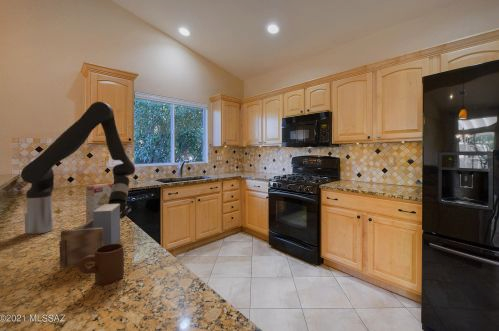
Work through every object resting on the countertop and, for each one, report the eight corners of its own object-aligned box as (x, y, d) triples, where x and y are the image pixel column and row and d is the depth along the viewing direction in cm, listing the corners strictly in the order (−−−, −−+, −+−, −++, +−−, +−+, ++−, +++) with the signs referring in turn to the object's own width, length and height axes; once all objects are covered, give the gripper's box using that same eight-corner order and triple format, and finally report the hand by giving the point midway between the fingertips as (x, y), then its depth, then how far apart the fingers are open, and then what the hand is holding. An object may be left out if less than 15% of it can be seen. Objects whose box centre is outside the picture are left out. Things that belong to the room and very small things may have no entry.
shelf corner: (60, 268, 77) (59, 232, 76) (94, 236, 107) (94, 210, 107) (101, 263, 80) (100, 229, 80) (123, 233, 111) (123, 209, 110)
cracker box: (95, 224, 126) (94, 186, 125) (85, 223, 127) (84, 185, 126) (114, 217, 140) (114, 183, 139) (106, 217, 141) (105, 182, 140)
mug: (85, 296, 62) (85, 261, 61) (72, 287, 66) (71, 255, 65) (129, 276, 72) (128, 246, 72) (115, 270, 76) (115, 241, 75)
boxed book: (93, 253, 89) (92, 211, 88) (104, 240, 102) (104, 204, 101) (111, 251, 90) (110, 210, 90) (120, 239, 104) (119, 203, 103)
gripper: (101, 190, 110) (93, 223, 99) (132, 189, 114) (128, 221, 103) (105, 199, 115) (98, 232, 104) (134, 198, 119) (130, 229, 108)
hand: (112, 226), depth 103 cm, fingers closed
